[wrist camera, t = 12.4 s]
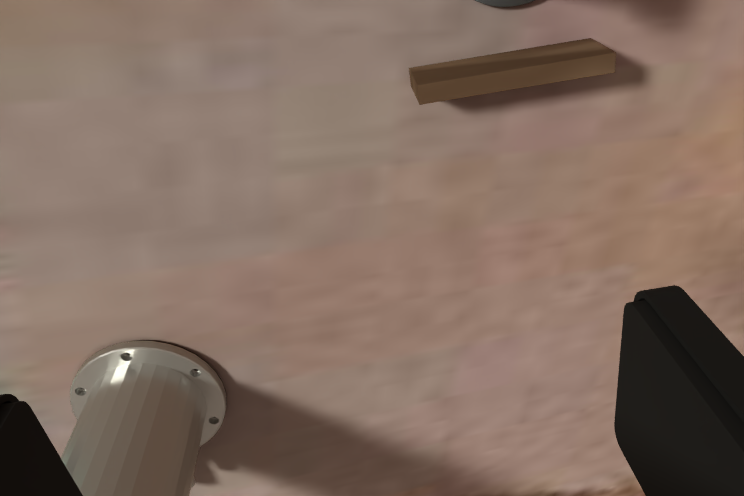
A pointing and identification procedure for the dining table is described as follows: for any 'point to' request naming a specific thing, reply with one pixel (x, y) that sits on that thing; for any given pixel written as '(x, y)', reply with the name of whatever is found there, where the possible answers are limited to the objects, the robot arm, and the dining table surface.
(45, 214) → the dining table surface
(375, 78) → the dining table surface
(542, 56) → the wooden plank
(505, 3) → the grey flat disc
